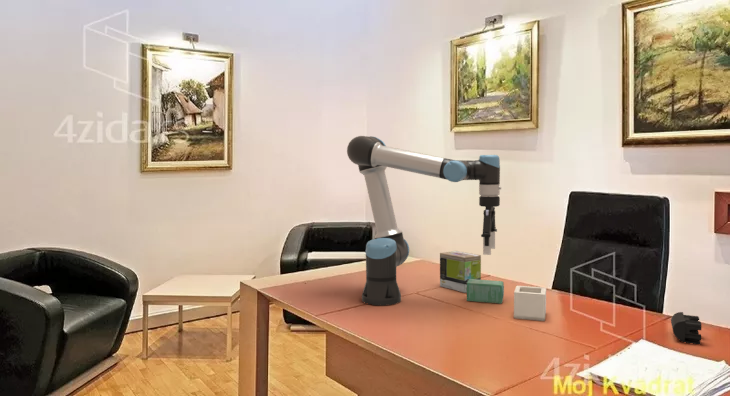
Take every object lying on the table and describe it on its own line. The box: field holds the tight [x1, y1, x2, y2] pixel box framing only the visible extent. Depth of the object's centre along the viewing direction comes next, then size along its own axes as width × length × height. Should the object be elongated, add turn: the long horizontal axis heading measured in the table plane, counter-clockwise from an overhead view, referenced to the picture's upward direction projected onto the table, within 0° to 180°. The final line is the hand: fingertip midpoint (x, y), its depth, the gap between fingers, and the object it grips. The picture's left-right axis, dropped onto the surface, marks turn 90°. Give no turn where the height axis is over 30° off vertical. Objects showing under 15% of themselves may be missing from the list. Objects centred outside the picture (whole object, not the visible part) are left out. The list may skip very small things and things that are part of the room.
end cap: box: [670, 311, 702, 345], centre depth 158 cm, size 10×7×7 cm
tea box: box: [439, 250, 482, 294], centre depth 221 cm, size 15×10×15 cm, turn 34°
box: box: [466, 279, 505, 304], centre depth 202 cm, size 7×14×8 cm, turn 72°
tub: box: [513, 285, 547, 322], centre depth 182 cm, size 10×10×9 cm
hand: (489, 251), depth 201 cm, fingers open, 13 cm apart
